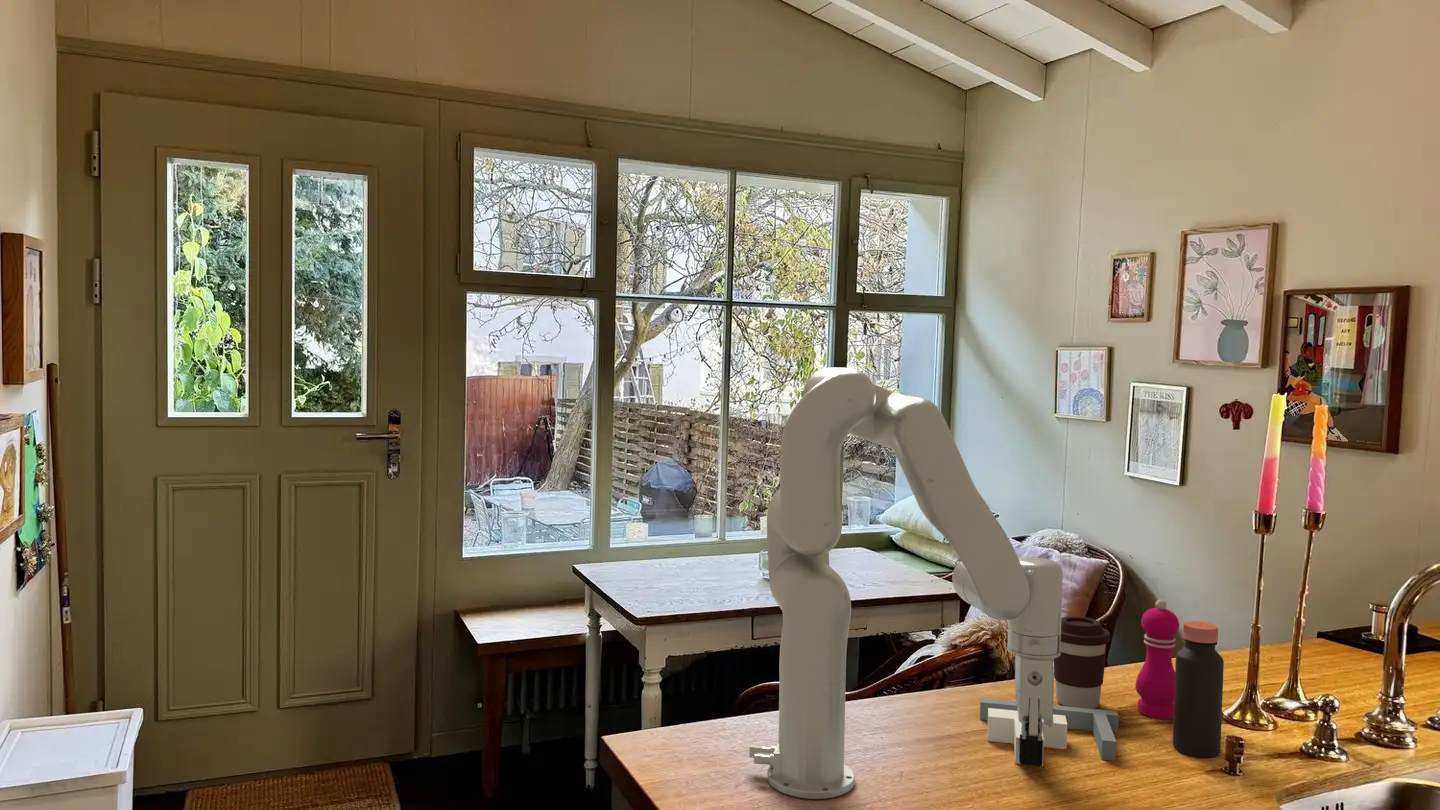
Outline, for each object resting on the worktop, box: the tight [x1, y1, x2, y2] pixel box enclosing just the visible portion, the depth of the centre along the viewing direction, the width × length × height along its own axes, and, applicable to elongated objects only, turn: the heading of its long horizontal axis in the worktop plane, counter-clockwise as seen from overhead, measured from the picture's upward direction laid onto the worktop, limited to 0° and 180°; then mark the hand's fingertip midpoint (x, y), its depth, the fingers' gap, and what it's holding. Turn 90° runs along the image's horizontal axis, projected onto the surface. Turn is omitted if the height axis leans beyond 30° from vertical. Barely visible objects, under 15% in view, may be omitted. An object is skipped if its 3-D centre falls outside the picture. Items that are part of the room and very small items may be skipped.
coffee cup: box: [1053, 615, 1111, 709], centre depth 175 cm, size 10×10×15 cm
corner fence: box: [979, 697, 1120, 762], centre depth 159 cm, size 22×14×3 cm, turn 76°
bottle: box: [1172, 620, 1225, 759], centre depth 154 cm, size 7×7×20 cm
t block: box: [987, 708, 1068, 767], centre depth 154 cm, size 12×12×4 cm
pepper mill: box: [1135, 599, 1180, 720], centre depth 170 cm, size 7×7×20 cm
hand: (1030, 763), depth 146 cm, fingers closed
